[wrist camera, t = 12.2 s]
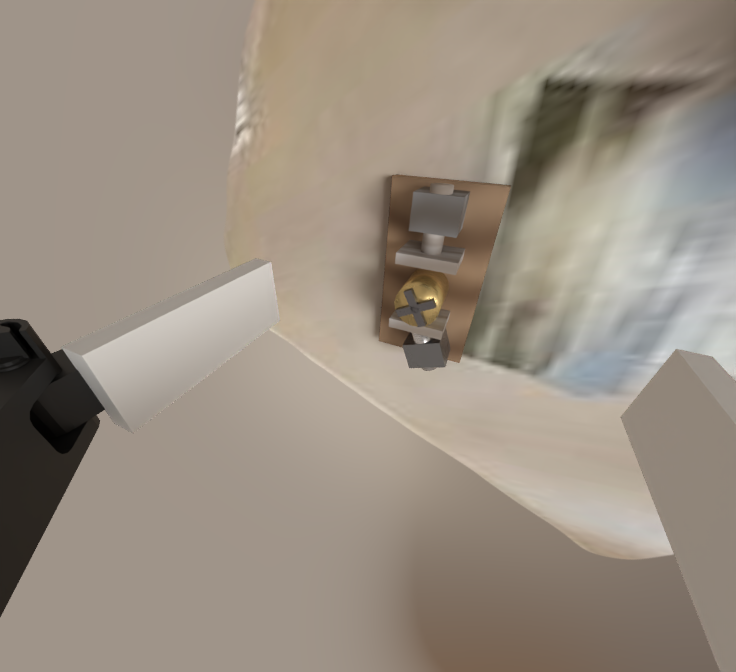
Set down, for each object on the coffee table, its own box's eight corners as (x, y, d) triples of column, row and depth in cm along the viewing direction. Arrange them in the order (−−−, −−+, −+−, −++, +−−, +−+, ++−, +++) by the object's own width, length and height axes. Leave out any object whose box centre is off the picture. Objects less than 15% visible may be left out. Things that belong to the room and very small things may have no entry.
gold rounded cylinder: (403, 273, 37) (385, 294, 32) (441, 260, 34) (428, 281, 29) (417, 307, 39) (402, 333, 34) (454, 298, 36) (444, 324, 31)
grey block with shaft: (407, 315, 40) (398, 330, 37) (442, 311, 37) (435, 327, 34) (418, 354, 42) (410, 371, 39) (451, 352, 40) (446, 371, 37)
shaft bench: (396, 174, 33) (374, 180, 27) (510, 185, 29) (510, 194, 24) (382, 335, 45) (365, 360, 40) (460, 356, 42) (453, 387, 36)
